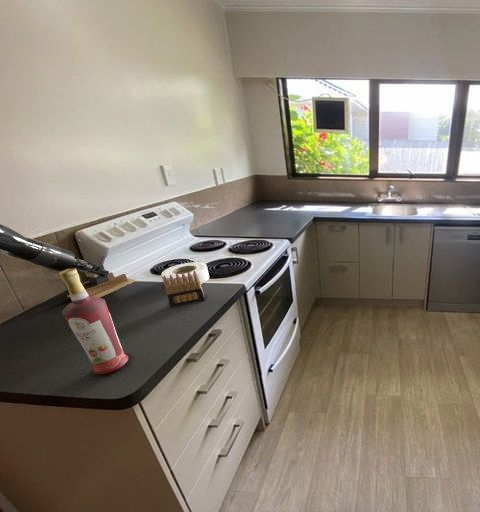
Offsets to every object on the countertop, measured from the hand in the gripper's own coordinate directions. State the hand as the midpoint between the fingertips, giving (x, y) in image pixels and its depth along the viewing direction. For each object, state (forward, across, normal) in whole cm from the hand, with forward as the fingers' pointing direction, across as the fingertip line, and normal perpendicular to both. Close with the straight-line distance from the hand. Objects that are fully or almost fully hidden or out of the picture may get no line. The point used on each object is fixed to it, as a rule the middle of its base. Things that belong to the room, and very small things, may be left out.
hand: (102, 273), depth 112 cm
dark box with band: (+2, 0, +5) cm, 5 cm away
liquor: (-19, -48, +29) cm, 59 cm away
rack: (+3, 0, +6) cm, 7 cm away
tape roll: (+13, -27, -3) cm, 30 cm away
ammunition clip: (+3, -41, +7) cm, 42 cm away
